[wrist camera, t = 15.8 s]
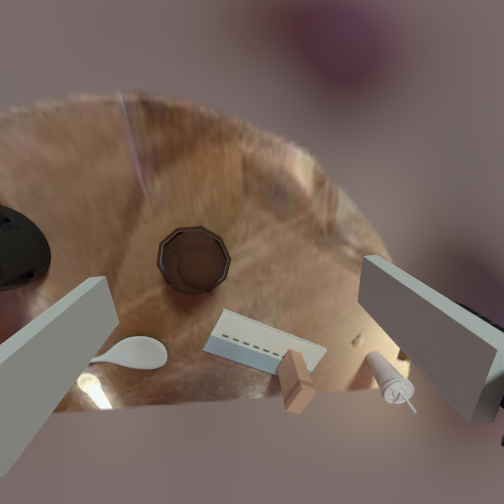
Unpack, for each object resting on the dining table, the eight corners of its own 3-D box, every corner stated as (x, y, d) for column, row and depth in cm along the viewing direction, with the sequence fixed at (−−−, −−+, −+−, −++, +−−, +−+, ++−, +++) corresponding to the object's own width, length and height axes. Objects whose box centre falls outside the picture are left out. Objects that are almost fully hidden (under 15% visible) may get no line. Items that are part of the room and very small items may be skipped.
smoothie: (388, 346, 56) (436, 401, 42) (382, 367, 58) (425, 425, 45) (363, 346, 55) (402, 402, 42) (357, 367, 57) (393, 427, 44)
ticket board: (203, 346, 52) (202, 350, 51) (223, 308, 49) (223, 311, 48) (301, 380, 57) (302, 384, 56) (325, 347, 54) (327, 351, 53)
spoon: (10, 335, 48) (-6, 347, 45) (167, 330, 50) (163, 341, 47) (24, 368, 51) (10, 382, 48) (172, 362, 53) (168, 375, 50)
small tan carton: (276, 368, 54) (285, 410, 44) (290, 348, 52) (302, 388, 42) (288, 372, 54) (299, 414, 45) (301, 353, 52) (316, 393, 43)
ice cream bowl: (189, 202, 41) (164, 220, 27) (242, 234, 44) (245, 266, 30) (162, 250, 44) (127, 290, 30) (214, 278, 47) (205, 326, 32)
